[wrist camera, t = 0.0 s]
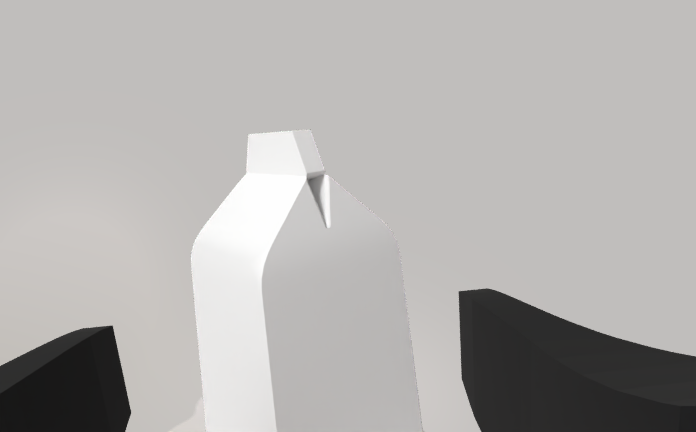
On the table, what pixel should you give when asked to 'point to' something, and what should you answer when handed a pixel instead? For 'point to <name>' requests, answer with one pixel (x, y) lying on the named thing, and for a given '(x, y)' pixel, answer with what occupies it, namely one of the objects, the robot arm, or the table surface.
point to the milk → (301, 303)
